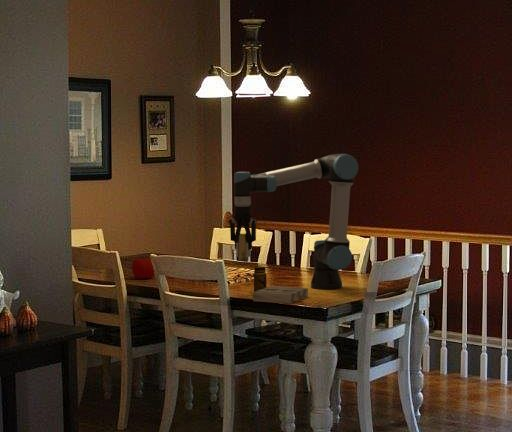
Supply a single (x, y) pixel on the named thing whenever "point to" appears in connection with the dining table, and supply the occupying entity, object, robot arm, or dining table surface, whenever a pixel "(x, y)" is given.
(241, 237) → the bushing
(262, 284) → the condiment
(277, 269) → the dining table surface
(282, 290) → the jig
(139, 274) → the tomato
